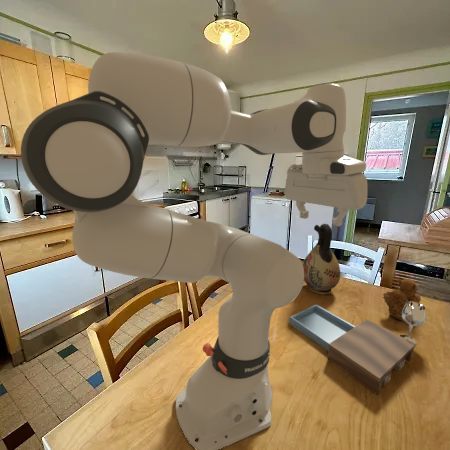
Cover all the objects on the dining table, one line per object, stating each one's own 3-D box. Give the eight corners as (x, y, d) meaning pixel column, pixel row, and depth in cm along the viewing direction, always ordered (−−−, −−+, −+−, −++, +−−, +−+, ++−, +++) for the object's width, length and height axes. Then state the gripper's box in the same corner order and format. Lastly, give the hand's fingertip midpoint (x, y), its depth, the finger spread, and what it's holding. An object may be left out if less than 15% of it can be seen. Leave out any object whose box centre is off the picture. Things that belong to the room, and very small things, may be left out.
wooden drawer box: (376, 395, 56) (379, 378, 55) (326, 359, 67) (328, 343, 66) (412, 359, 67) (415, 344, 66) (364, 332, 78) (367, 319, 76)
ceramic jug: (296, 280, 112) (301, 217, 105) (329, 281, 112) (337, 218, 104) (306, 300, 96) (314, 227, 88) (346, 301, 95) (356, 228, 88)
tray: (338, 358, 67) (339, 350, 67) (289, 323, 82) (289, 316, 81) (364, 338, 75) (365, 332, 74) (315, 310, 89) (315, 304, 89)
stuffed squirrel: (427, 317, 86) (435, 283, 83) (404, 328, 80) (412, 292, 77) (398, 303, 95) (404, 272, 91) (374, 312, 89) (380, 279, 85)
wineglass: (423, 348, 71) (432, 312, 68) (401, 345, 72) (409, 310, 69) (413, 334, 77) (420, 301, 74) (393, 332, 78) (400, 299, 75)
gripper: (279, 165, 63) (279, 216, 67) (357, 166, 46) (352, 234, 50) (295, 163, 66) (295, 212, 70) (374, 163, 49) (367, 227, 54)
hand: (319, 221), depth 60 cm, fingers open, 8 cm apart
